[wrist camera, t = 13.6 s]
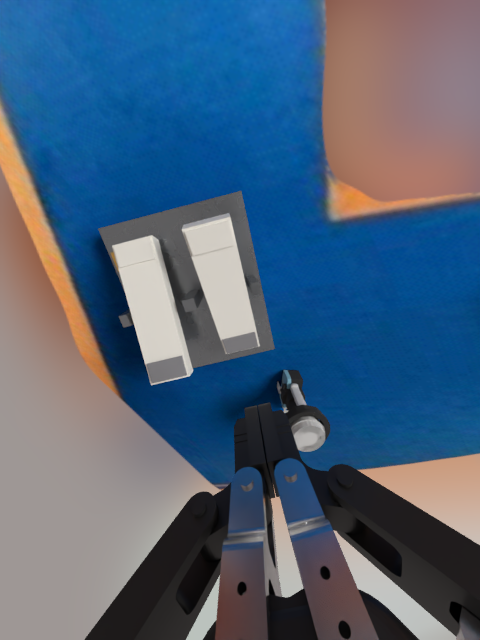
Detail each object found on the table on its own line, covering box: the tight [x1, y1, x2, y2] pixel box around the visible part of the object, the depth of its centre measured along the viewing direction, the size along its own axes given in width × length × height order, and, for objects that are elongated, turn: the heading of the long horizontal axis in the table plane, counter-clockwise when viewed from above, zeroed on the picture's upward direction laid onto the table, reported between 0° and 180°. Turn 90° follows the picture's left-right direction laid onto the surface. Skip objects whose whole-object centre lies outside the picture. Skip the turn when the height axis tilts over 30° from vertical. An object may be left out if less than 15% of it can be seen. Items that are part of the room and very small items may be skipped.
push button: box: [277, 370, 330, 452], centre depth 30 cm, size 7×5×10 cm
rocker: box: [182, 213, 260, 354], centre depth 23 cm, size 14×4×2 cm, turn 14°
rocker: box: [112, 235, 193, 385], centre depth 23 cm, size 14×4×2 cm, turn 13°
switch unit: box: [98, 191, 275, 368], centre depth 26 cm, size 18×15×7 cm
